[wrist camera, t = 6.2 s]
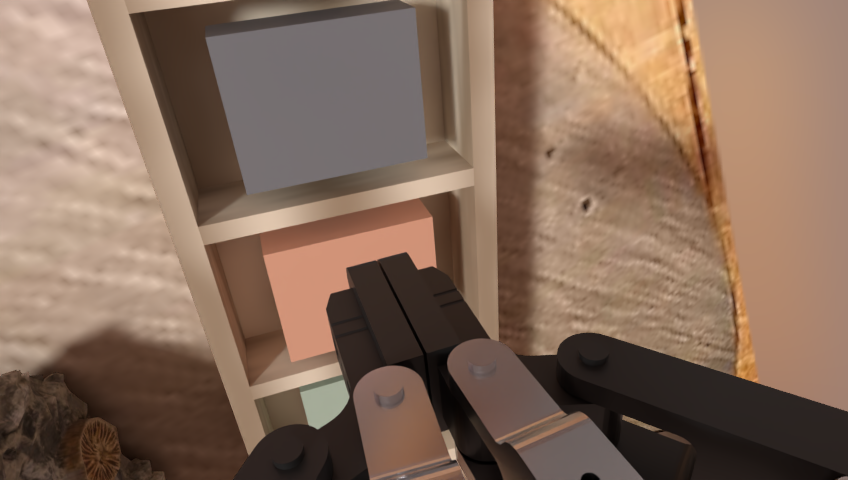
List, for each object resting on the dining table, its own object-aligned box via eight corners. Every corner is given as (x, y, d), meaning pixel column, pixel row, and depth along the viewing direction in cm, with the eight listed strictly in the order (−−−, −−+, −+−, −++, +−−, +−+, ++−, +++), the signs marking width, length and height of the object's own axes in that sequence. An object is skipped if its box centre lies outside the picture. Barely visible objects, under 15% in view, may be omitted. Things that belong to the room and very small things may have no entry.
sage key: (425, 326, 31) (438, 352, 29) (432, 400, 34) (445, 428, 32) (294, 362, 30) (300, 392, 28) (313, 437, 32) (320, 468, 31)
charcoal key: (397, -1, 22) (415, 7, 20) (411, 139, 25) (427, 157, 23) (205, 25, 20) (205, 37, 18) (243, 172, 23) (246, 195, 21)
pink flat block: (416, 195, 26) (432, 216, 24) (426, 295, 29) (441, 321, 27) (258, 230, 25) (263, 255, 23) (285, 332, 27) (291, 362, 26)
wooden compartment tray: (446, -71, 24) (492, -66, 20) (470, 390, 37) (500, 444, 33) (102, -32, 21) (80, -18, 17) (264, 454, 34) (271, 521, 30)
